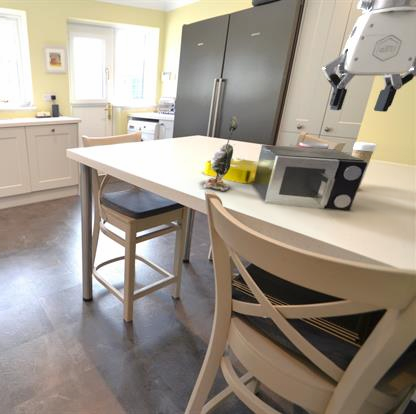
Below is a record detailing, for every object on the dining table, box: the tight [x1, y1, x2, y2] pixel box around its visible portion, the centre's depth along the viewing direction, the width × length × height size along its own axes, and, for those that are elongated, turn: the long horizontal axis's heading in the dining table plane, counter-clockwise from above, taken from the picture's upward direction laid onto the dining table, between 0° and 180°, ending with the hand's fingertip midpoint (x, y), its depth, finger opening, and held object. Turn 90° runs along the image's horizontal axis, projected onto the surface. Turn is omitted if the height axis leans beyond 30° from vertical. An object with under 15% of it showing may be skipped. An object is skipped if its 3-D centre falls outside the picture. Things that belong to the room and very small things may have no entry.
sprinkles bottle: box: [350, 141, 377, 192], centre depth 81 cm, size 5×5×14 cm
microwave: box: [252, 144, 367, 212], centre depth 73 cm, size 16×18×12 cm
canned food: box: [298, 141, 330, 149], centre depth 93 cm, size 8×8×11 cm
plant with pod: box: [201, 115, 239, 192], centre depth 79 cm, size 8×11×20 cm
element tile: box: [203, 156, 258, 184], centre depth 94 cm, size 15×15×5 cm
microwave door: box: [264, 155, 340, 210], centre depth 65 cm, size 8×13×12 cm, turn 75°
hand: (357, 109), depth 57 cm, fingers open, 7 cm apart
